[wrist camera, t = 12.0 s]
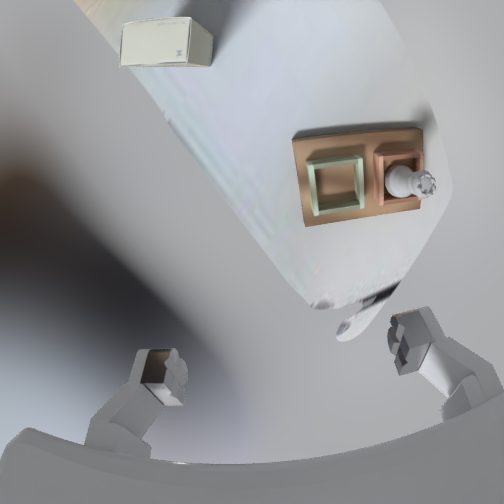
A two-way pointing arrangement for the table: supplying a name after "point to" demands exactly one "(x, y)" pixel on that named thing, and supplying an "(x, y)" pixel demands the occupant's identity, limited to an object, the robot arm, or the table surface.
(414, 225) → the table surface
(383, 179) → the board
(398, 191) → the rook chess piece
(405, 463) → the robot arm
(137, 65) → the skincare box
